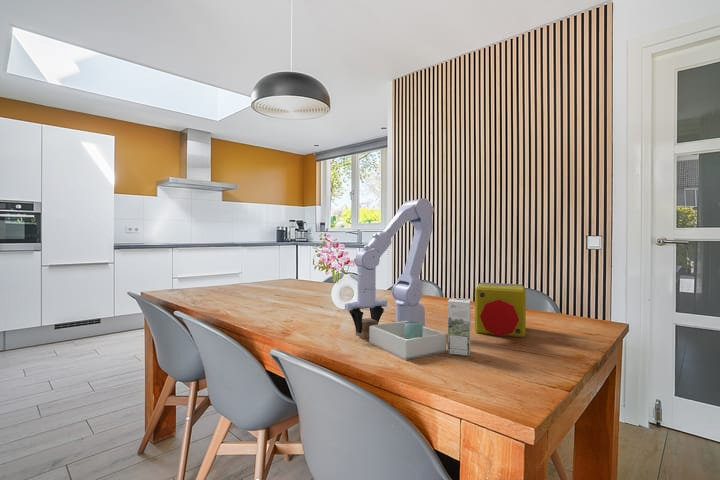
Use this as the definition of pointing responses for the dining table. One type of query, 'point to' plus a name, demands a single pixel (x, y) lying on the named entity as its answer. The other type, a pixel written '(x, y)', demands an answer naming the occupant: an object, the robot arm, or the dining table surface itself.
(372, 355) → the dining table surface
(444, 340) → the grey tote
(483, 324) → the emergency stop button
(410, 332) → the teal canister
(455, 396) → the dining table surface
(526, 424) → the dining table surface
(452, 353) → the syrup box
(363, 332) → the walnut cube
